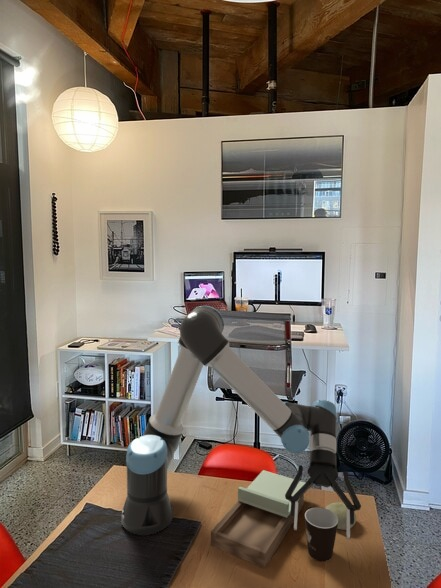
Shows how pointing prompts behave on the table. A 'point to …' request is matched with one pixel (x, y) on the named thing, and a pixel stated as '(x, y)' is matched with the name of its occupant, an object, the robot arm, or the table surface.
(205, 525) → the table surface
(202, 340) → the robot arm
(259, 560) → the brown wooden shallow box
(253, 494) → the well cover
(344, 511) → the sea urchin shell
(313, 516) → the coffee mug
